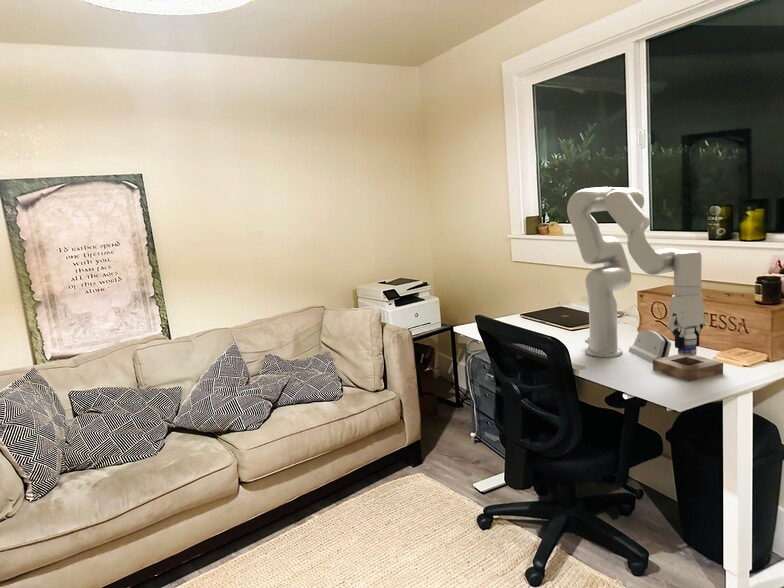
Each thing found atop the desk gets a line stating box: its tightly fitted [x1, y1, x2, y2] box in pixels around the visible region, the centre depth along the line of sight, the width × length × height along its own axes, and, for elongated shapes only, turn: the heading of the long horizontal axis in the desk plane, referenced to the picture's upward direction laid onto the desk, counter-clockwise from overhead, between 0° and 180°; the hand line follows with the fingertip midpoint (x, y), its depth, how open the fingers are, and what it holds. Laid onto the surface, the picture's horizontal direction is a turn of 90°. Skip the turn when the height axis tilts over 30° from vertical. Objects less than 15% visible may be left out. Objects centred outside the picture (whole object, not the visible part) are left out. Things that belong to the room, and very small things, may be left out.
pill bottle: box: [677, 326, 698, 357], centre depth 177 cm, size 5×5×9 cm
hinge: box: [628, 329, 672, 364], centre depth 198 cm, size 17×5×10 cm, turn 5°
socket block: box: [652, 353, 724, 383], centre depth 179 cm, size 14×14×4 cm
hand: (686, 346), depth 178 cm, fingers closed on pill bottle, 5 cm apart
